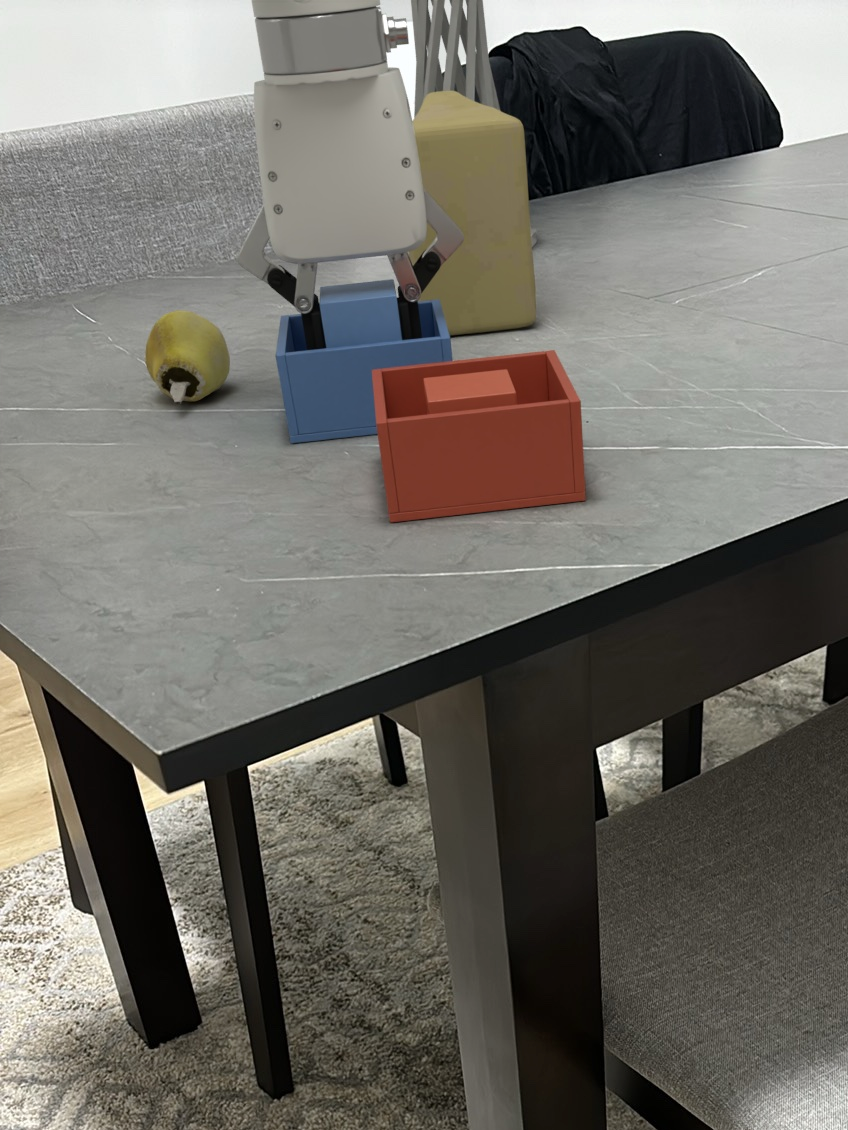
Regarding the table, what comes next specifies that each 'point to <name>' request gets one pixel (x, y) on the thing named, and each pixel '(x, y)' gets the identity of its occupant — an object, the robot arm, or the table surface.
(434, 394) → the red block
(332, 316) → the blue block
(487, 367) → the red bin
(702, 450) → the table surface
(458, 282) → the cheese
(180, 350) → the mushroom
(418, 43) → the vase
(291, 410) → the blue bin
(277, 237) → the robot arm
